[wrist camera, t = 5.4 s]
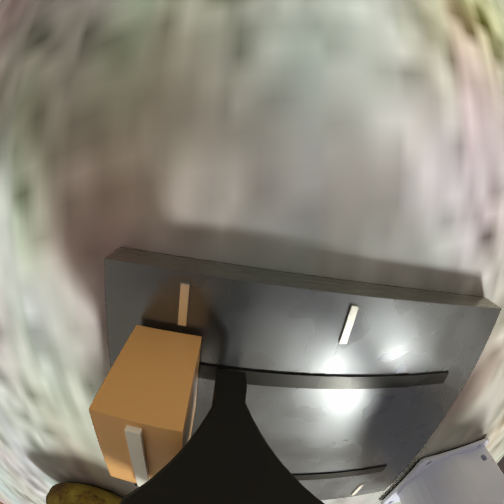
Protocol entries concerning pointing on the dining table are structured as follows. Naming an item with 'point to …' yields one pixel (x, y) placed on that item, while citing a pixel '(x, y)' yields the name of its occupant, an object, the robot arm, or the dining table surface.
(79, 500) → the potato
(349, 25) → the dining table surface
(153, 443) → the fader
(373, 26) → the dining table surface
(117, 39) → the dining table surface
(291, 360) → the console
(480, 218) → the dining table surface
